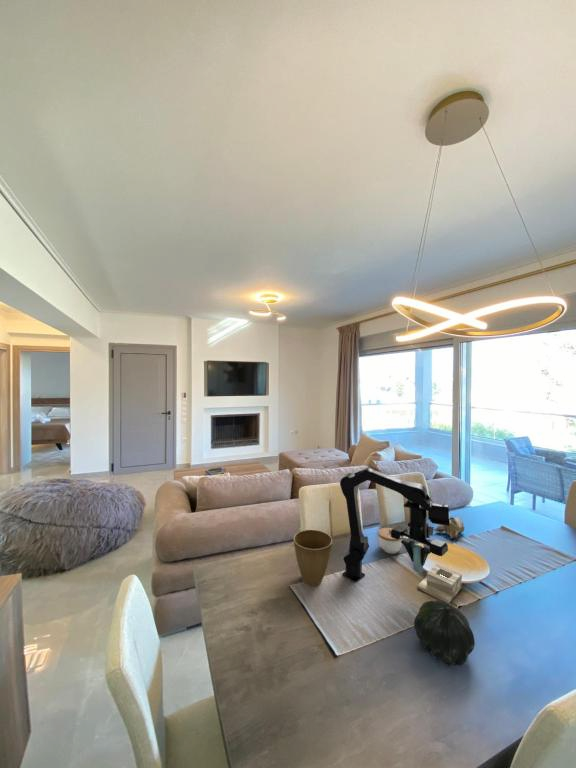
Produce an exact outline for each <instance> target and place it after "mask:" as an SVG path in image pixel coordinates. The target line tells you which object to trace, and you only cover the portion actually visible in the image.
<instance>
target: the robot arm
mask: <svg viewBox="0 0 576 768" xmlns="http://www.w3.org/2000/svg"><path fill="white" fill-rule="evenodd" d="M366 481H370V482H372V483H374V484H376V485H380V486H381V487H384V488H386V489H389V490H392V491H394V492H397V493H398V494H400V495H402V497H404V498H405V499H406V500H405V501H404V503H403V507H404V508H409V509H408V511H409V516H408V517H409V522H407V527H409V528H408V529H407V528H406V527H403V526H400V525H397V526H395V527H393V528H392V530H391V537H392V538H395V539H397V540H398V539H399V538H400V536H401V537H402V541H401V543H402V546H403V547H404V548H405V550H406V552H407V553H408V556H409V558H410V560H411V562H412V563H413V545H416V544H415V543H418V544H421V545H423V546H422V547H423V548H422V549H421V564H422V566H423V567H424V566H425V563H426V561H427V558H428V556H429V554H433V555H436V556H438V557H443V556H444V555H445V554H446V553H447V552H448V551H449V545H448V544H447V542H446V541H442V540H440V539H437V538H435V539H434V540H430V539H429V538H430V536H431V537H433V535H434V529H435V527H434V526H432V525H429V523H431V524H434V525H438V526H439V525H444V526H449V527H450V518H451V517H450V506H449V505H448V504H438V503H433V499H431V496H430V495H429V494H428V492H427V488H426V487H425V486H424V484H422V483H419V482H414V481H407V480H402V479H399V478H396V477H394V476H391V475H388V474H386V473H383V472H381V471H377V470H375V469H373V468H371V467H366V468H364V469H361V470H358V471H356V472H354V473H353V472H349V473H347V474H346V475H344V476H343V477H342V478H341V479H340V481H339V486H340V489H341V492H342V494H343V497H344V498H345V500H346V501H345V502H346V507H347V508H346V509H347V516H348V524H349V525H348V526H349V531H350V538H349V547H348V550H347V552H346V553H345V555H344V557H343V562H344V564H345V571H344V572H342V576H344V577H346V578H347V579H349V580H351V581H353V582H355V583H356V582H358V581H360V580H361V579H362V578H364V577H365V576H366V573H365V572H363V562H362V561H363V560H364V558H365V556H366V554H367V552H368V549H369V547H370V544H369V537H368V536H366V535H365V534H364V533H363V531H362V523H361V515H360V507H359V501H358V492H359V485H361V484H363V483H365V482H366ZM427 511H428V513H427ZM427 517H428V520H429V522H428V521H427ZM408 530H409V532H408ZM364 535H365V536H364ZM427 538H428V539H427Z"/></svg>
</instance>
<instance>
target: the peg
mask: <svg viewBox="0 0 576 768" xmlns="http://www.w3.org/2000/svg"><path fill="white" fill-rule="evenodd" d="M423 547H424V546H422V545H420V544H414V545H413V562H412V569H413V570H414V571H415V572H418V573H422V572H423V571H424V566H422V564H421V549H422V548H423Z"/></svg>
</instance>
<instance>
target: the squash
mask: <svg viewBox="0 0 576 768" xmlns="http://www.w3.org/2000/svg"><path fill="white" fill-rule="evenodd" d="M413 624H414V625H413V626H414V627H413V628H414V631H415V635H416V636H417V638H418V639H419V641H420V642H421V645H422V647H423V648H424V650H425V651H426V652H428V653H431V655H432V656H433V657H435V658H438V659H439V658H440V659H441V661H442V662H443V664H445V665H447V666H448V667H449V666H452V665H454V664H455V665H458V666H460V665H463V664H465V663H466V662H467V660H468V657H469V655H470V654H472V652H473V651H474V649H475V644H476V642H475V641H476V640H475V637H474V633H473V630H472V628H471V626H470V623H469V621H468V619H467V617H466V615H465V614H464V613H463V612H462V611H461V610H459V608H456V607H455V606H453V605H452V604H450V603H449V604H448V603H446V602H444V601H442V600H429V601H425V602H423V603H422V604H421V606H420V608H419V610H418V612H417V614H416V616H415V618H414V621H413Z"/></svg>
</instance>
